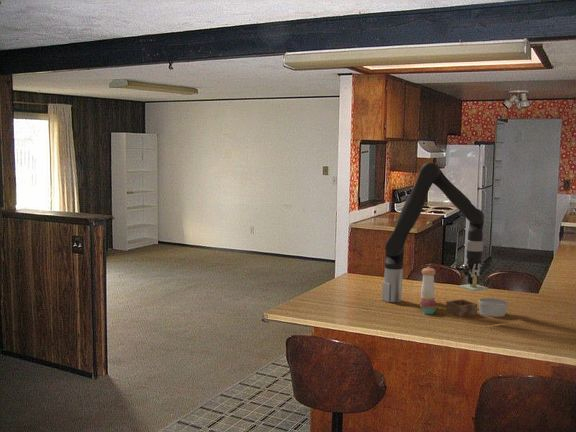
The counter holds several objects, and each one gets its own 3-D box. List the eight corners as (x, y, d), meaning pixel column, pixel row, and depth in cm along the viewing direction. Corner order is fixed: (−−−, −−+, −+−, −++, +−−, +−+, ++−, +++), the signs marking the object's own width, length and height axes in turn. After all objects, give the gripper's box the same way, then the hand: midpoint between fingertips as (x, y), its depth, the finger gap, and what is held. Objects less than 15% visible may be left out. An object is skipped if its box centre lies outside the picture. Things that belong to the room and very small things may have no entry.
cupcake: (427, 317, 286) (428, 292, 285) (415, 313, 293) (416, 288, 292) (441, 315, 290) (442, 290, 288) (429, 311, 297) (430, 287, 296)
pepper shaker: (417, 303, 312) (418, 266, 310) (424, 301, 317) (426, 264, 315) (429, 306, 307) (431, 268, 305) (437, 303, 313) (438, 266, 311)
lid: (472, 291, 297) (473, 278, 296) (458, 287, 306) (459, 274, 305) (488, 289, 301) (488, 276, 300) (473, 285, 310) (474, 273, 309)
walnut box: (460, 318, 285) (460, 306, 284) (445, 313, 294) (446, 301, 293) (476, 316, 289) (477, 304, 288) (461, 311, 298) (462, 299, 297)
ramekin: (503, 312, 298) (503, 298, 297) (510, 319, 285) (511, 305, 284) (475, 311, 299) (476, 297, 299) (481, 318, 286) (481, 303, 286)
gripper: (469, 251, 295) (467, 286, 297) (490, 249, 301) (489, 284, 303) (458, 249, 302) (456, 283, 304) (479, 247, 308) (478, 281, 310)
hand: (473, 283), depth 303 cm, fingers closed on lid, 3 cm apart
